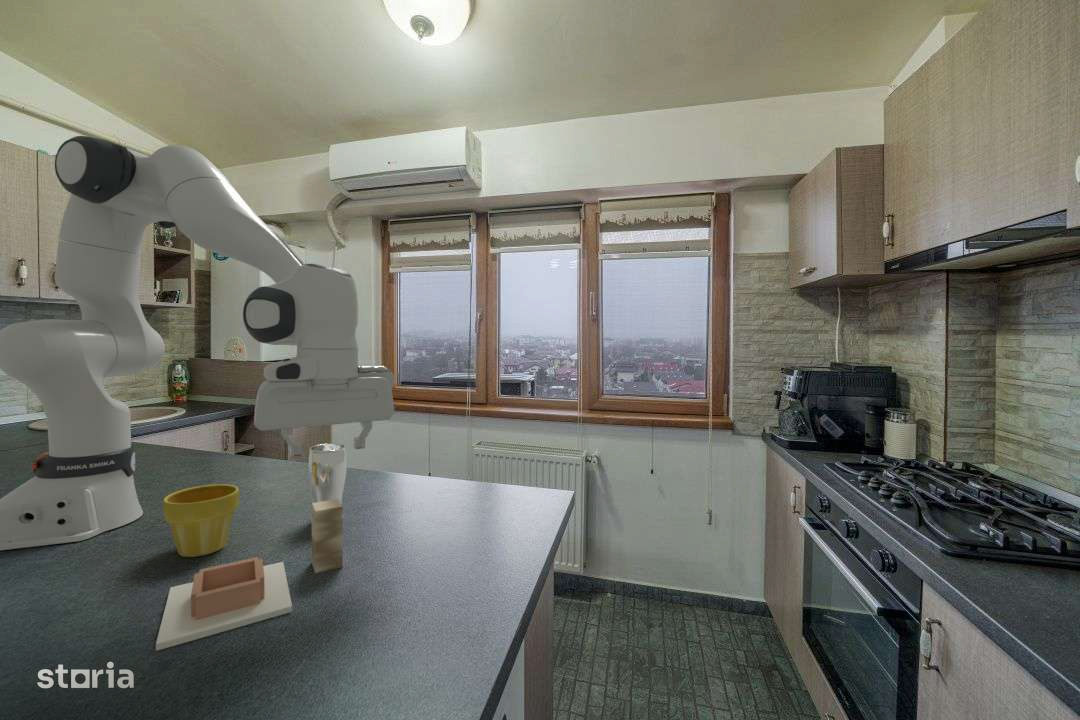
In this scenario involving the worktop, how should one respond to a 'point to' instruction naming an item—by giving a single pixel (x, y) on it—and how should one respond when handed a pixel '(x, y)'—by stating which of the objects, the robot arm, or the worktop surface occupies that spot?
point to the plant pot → (201, 517)
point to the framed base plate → (224, 601)
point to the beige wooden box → (327, 535)
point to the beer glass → (327, 471)
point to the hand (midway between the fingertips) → (328, 452)
